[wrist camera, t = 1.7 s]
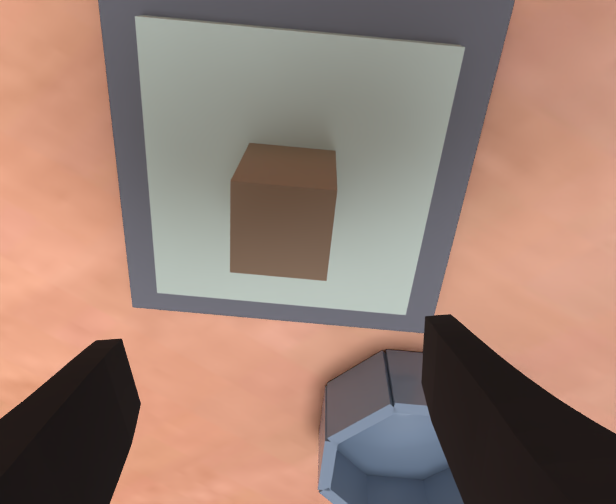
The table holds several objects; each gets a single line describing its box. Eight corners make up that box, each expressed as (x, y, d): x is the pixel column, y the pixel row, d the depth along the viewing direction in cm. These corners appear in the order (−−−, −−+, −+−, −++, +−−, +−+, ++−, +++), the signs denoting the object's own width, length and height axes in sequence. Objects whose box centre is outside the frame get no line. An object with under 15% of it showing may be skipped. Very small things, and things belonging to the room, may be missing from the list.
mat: (98, -40, 16) (93, -40, 16) (510, -1, 16) (514, 0, 16) (135, 302, 23) (132, 307, 23) (427, 328, 23) (429, 333, 23)
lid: (142, 14, 17) (80, 24, 13) (459, 44, 17) (503, 64, 13) (162, 283, 22) (123, 353, 18) (403, 304, 22) (421, 379, 18)
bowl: (330, 344, 24) (331, 397, 21) (511, 360, 24) (539, 415, 21) (314, 465, 28) (312, 523, 25) (467, 478, 28) (485, 538, 25)
